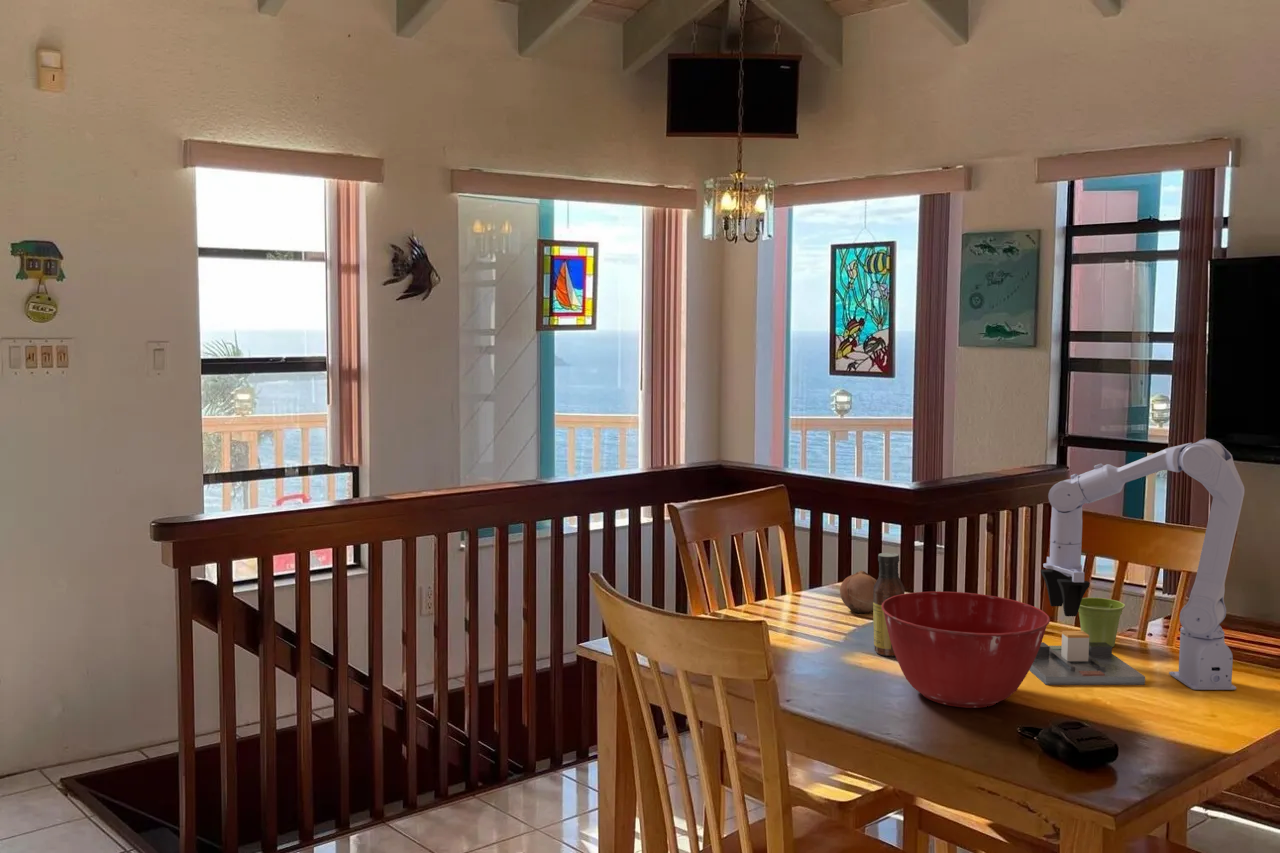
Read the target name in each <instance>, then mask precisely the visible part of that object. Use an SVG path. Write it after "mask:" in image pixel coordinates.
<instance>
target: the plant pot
mask: <svg viewBox="0 0 1280 853" xmlns="http://www.w3.org/2000/svg"><path fill="white" fill-rule="evenodd" d="M1125 607H1126V604H1125V603H1123V602H1121V601H1119V600H1115V599H1110V598H1103V597H1083V598H1082V600H1081V603H1080V607H1079V610H1078V616H1079V623H1080V624H1079V625H1080V631H1084V632H1085V633H1087V634H1088V635H1089V642H1106V643H1107V644H1109V645H1110V646H1112V648H1113V647H1115V644H1116V641H1117V640H1116V638H1117V634H1118V628H1119V624H1120V618H1121V615H1122V613H1123V610H1124V608H1125Z"/></svg>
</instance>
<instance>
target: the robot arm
mask: <svg viewBox="0 0 1280 853" xmlns="http://www.w3.org/2000/svg"><path fill="white" fill-rule="evenodd" d="M1093 468H1094V469H1092V470H1088V471H1086V472H1083V473H1081V474H1077V473H1073V474H1071V475H1070V478H1069V479H1068V478H1067V479H1064V480H1061V481H1059V482H1057V483H1055V484H1053V485H1052V486H1051V488H1050V489H1049V491H1048V495H1047V497H1048V502H1049V504H1050V506H1051V517H1050V534H1049V535H1050V538H1049V541H1050V542H1049V543H1050V544H1049V556H1046V562H1045V563H1043V564H1042V565H1043V568H1045V569H1040V574H1041V576H1042V577H1043V580H1044V583H1045V587H1046V590H1047V594H1048V601H1049V605H1050V606H1051V607H1063V613H1064V616H1065V617H1077V615H1078V614H1079V612H1078V610H1079V607H1080V603H1081V600H1082V598H1084V595H1085V593H1086V592H1087V590H1088V588H1090V586H1091V585H1090V582H1089V581H1088V580H1085V572H1084V571H1083V565H1082V545H1083V544H1082V542H1083V539H1082V538H1083V506H1084V505H1085V504H1092V503H1095V502H1097V501H1099V500H1102V499H1103V500H1104V499H1106V498H1109V497H1111V496H1114V495H1116V494H1119V493H1121V492H1122V491H1123V488H1124V486H1125V484H1126V483H1129V482H1132V481H1135V480H1137V479H1140V478H1143V477H1146V476H1149V475H1153V474H1155V473H1158V472H1161V471H1170V472H1174V473H1180V472H1181V471H1183V472H1184V473H1185V474H1186V475H1188V476H1189V477H1191V478H1193V479H1194V480H1196V481H1197V482H1199V483H1200V484H1202V486H1203V487H1204V488H1205V489H1206V490H1207V492H1208V493H1209V494H1210V496H1212V502H1211V506H1210V510H1209V511H1210V512H1209V515H1208V521H1207V524H1206V528H1205V533H1204V537H1203V542H1202V547H1201V553H1200V556H1199V561H1198V567H1197V571H1196V574H1195V580H1194V583H1193V586H1192V588H1191V591H1190V594H1189V598H1188V601H1187V603H1186V604H1185V605H1184V606H1183V607H1182V608H1181V609H1180V612H1179V622H1180V625H1181V627H1180V635H1179V654H1178V655H1179V656H1178V657H1179V658H1178V671H1168V675H1170V676H1172V677H1173V678H1174V679H1176V680H1178V682H1181V683H1182V684H1183V685H1185V686H1186V687H1188V688H1189V689H1192V690H1197V691H1199V690H1200V691H1202V690H1203V691H1204V690H1205V691H1207V690H1212V691H1213V690H1214V691H1215V690H1216V691H1217V690H1218V691H1220V690H1223V691H1225V690H1227V691H1228V690H1229V691H1231V690H1232V691H1233V690H1235V691H1236V690H1237V686H1235V684H1232V682H1233V681H1232V680H1233V679H1232V678H1233V664H1234V663H1233V662H1234V661H1233V658H1234V656H1233V655H1234V654H1233V652H1232V651H1231V649H1230V647H1229V646H1228V645H1227V644H1226V642H1225V631H1224V629H1223V628H1222V626H1221V625H1220V624H1221V623H1223V621H1224V620H1225V618H1226V615H1227V607H1226V603H1225V599H1224V598H1225V594H1226V593H1225V592H1226V589H1225V584H1226V579H1227V574H1228V568H1229V564H1230V559H1231V556H1232V552H1233V547H1234V543H1235V538H1236V533H1237V530H1238V525H1239V520H1240V515H1241V511H1242V506H1243V502H1244V501H1243V500H1244V497H1245V491H1246V490H1245V486H1244V483H1243V481H1242V479H1241V476H1240V473H1239V472H1238V469H1237V466H1236V465H1235V463H1234V458H1233V454H1231V452H1230V451H1229V450H1227V448H1225V446H1224V445H1223V444H1222V443H1220V442H1219V441H1217V440H1215V439H1211V438H1203V439H1199V440H1198V441H1196V442H1194V443H1193V442H1188V443H1183V444H1179V445H1175V446H1170V447H1166V448H1165V449H1161V450H1160V451H1157V452H1155V453H1152V454H1150V455H1147V456H1144V457H1142V458H1140V459H1137V460H1135V461H1132V462H1130V463H1126V464H1125V465H1123V466H1122V465H1121V467H1120V466H1119V467H1118V466H1114V465H1112V464H1110V463H1109V464H1108V463H1106V464H1105V465H1104V464H1103V463H1098V464H1096V465H1093Z"/></svg>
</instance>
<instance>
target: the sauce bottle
mask: <svg viewBox="0 0 1280 853" xmlns="http://www.w3.org/2000/svg"><path fill="white" fill-rule="evenodd" d="M877 561H878V570H879V571H878V578H877V579H876V580H877V581H876V583H875V585H874V594H873V611H872V612H873V613H872V615H873V618H872V619H873V620H872V623H873V647H874V651H875V653H876V654H878V655H880V656H884V657H885V656H887V657H896V656H895V653H894V650H893V647H892V644H891V641H890V637H889V634H888V629H887V625H886V621H885V616H884V612H883V610H882V607H881V606H882V603H883V602H884V601H885V600H886V599H888V598H890V597H893V596H896V595H901V594H906V592H905V588H906V587H905V586H904V584H903V582H902V579H901V578H900V576H899V575H900V573H899V563H900V555H899V554H898V553H895V552H881V553H878V555H877Z"/></svg>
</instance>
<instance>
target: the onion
mask: <svg viewBox="0 0 1280 853" xmlns="http://www.w3.org/2000/svg"><path fill="white" fill-rule="evenodd" d="M876 581H877V579H876V578H874V577H873V576H871V575H870V573H868V572H866V571H865V570H859V571H857V572H855V573H853V574H851V575H848V576H847V577H845V579H843V581H842V582H841V585H840V588H839V594H840V598H841V601H842V603H843V604H844V605H845V606H846V607H847V609H849V610H850V611H851V612H853V613H858V614H859V615H860V614H861V613H862V614H864V613H869V614H870V612H873V594H874V585H875V583H876Z"/></svg>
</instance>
